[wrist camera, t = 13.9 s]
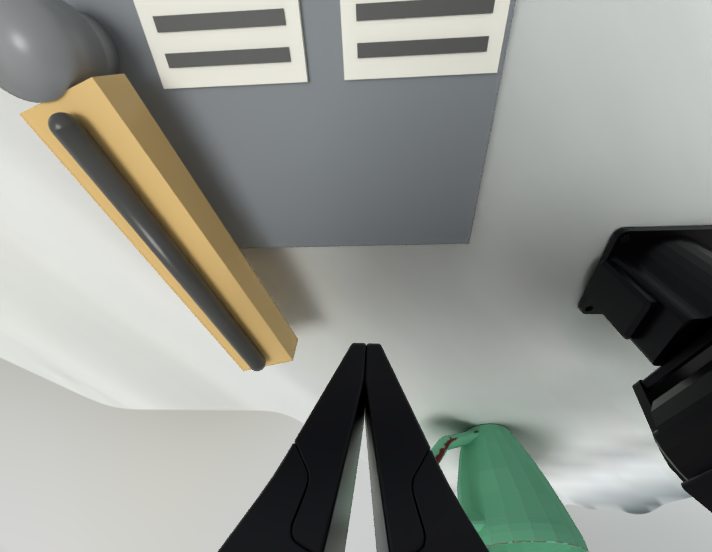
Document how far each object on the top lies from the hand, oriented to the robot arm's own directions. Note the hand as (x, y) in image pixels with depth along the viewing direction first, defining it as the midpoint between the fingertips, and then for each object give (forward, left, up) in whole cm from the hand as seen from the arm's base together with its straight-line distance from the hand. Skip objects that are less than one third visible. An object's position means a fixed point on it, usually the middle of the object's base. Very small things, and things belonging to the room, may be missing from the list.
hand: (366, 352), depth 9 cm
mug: (-10, +25, -11) cm, 29 cm away
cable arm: (+9, 0, -8) cm, 13 cm away
